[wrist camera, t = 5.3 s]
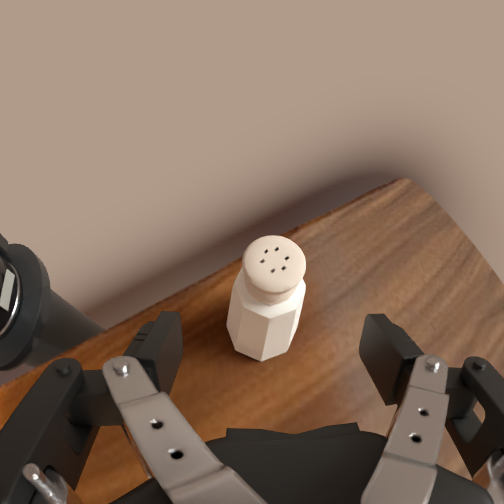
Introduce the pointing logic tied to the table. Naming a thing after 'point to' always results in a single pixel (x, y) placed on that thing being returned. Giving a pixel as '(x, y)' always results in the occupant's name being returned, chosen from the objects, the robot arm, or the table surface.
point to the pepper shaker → (267, 298)
